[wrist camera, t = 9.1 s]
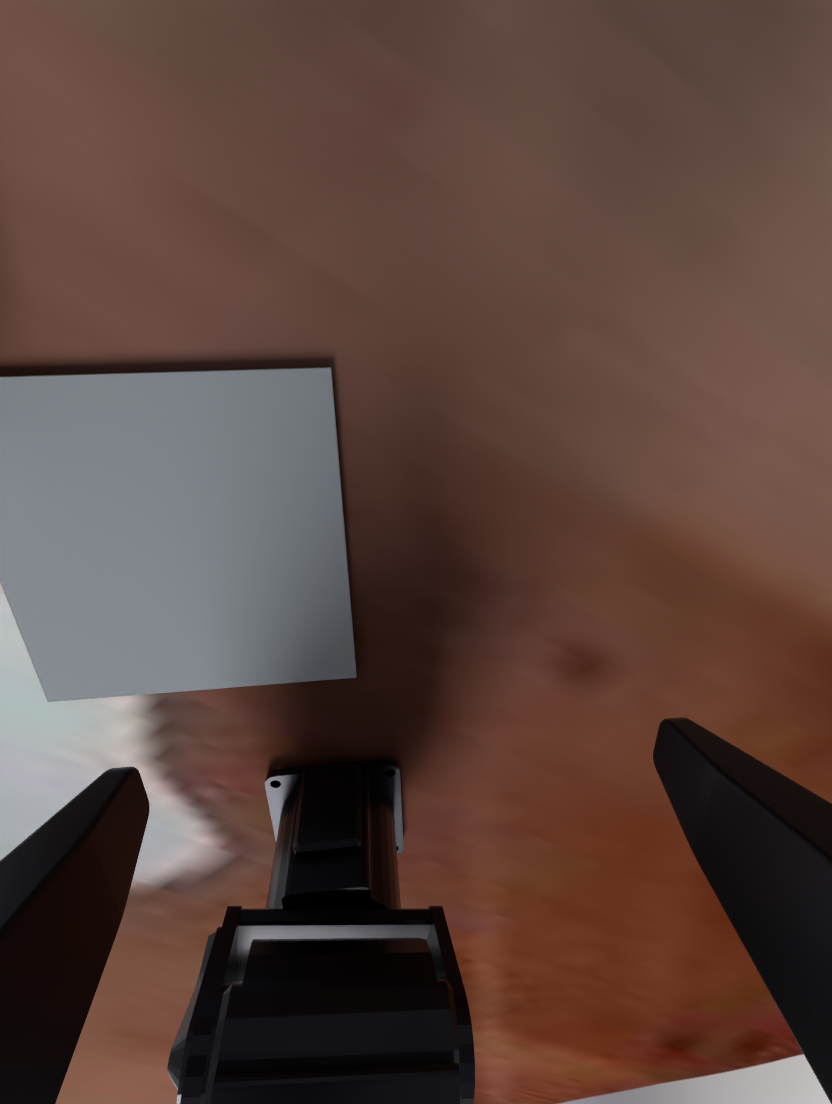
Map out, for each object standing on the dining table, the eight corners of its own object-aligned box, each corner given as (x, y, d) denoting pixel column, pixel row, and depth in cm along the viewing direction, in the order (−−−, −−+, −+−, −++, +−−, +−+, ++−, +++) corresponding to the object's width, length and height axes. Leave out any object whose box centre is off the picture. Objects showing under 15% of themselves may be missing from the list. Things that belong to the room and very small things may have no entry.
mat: (356, 671, 23) (356, 677, 23) (53, 695, 22) (47, 702, 22) (331, 367, 18) (330, 367, 17) (-71, 378, 17) (-81, 379, 16)
